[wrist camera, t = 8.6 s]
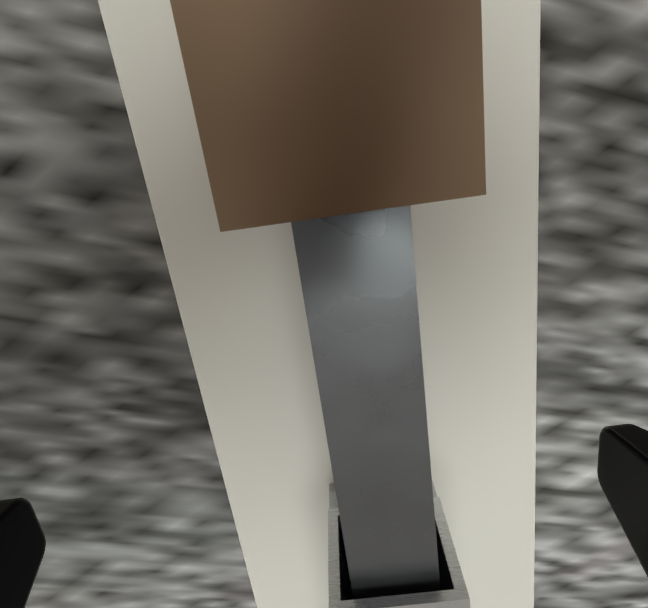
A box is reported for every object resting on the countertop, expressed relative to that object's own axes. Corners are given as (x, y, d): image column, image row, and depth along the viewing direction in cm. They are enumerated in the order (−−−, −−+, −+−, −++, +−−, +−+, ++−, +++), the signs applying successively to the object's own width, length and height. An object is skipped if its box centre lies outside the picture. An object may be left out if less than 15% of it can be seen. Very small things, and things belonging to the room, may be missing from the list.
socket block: (258, 187, 18) (220, 231, 11) (230, 33, 16) (164, -23, 10) (425, 163, 18) (486, 194, 11) (414, 3, 16) (479, -75, 9)
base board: (274, 658, 28) (273, 669, 27) (105, 4, 17) (97, 0, 16) (528, 633, 27) (533, 644, 27) (533, -67, 16) (541, -74, 15)
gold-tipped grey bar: (351, 549, 21) (355, 621, 18) (280, 107, 15) (269, 107, 12) (426, 541, 20) (444, 612, 17) (386, 91, 14) (402, 85, 11)
